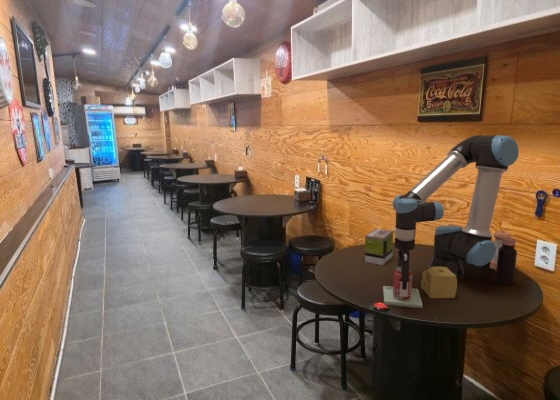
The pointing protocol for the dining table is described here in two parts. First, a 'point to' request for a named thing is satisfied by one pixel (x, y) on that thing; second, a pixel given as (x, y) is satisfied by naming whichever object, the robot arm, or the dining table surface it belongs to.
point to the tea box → (378, 246)
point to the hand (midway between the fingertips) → (402, 288)
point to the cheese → (439, 282)
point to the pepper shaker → (498, 246)
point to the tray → (411, 302)
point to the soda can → (397, 284)
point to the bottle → (506, 262)
